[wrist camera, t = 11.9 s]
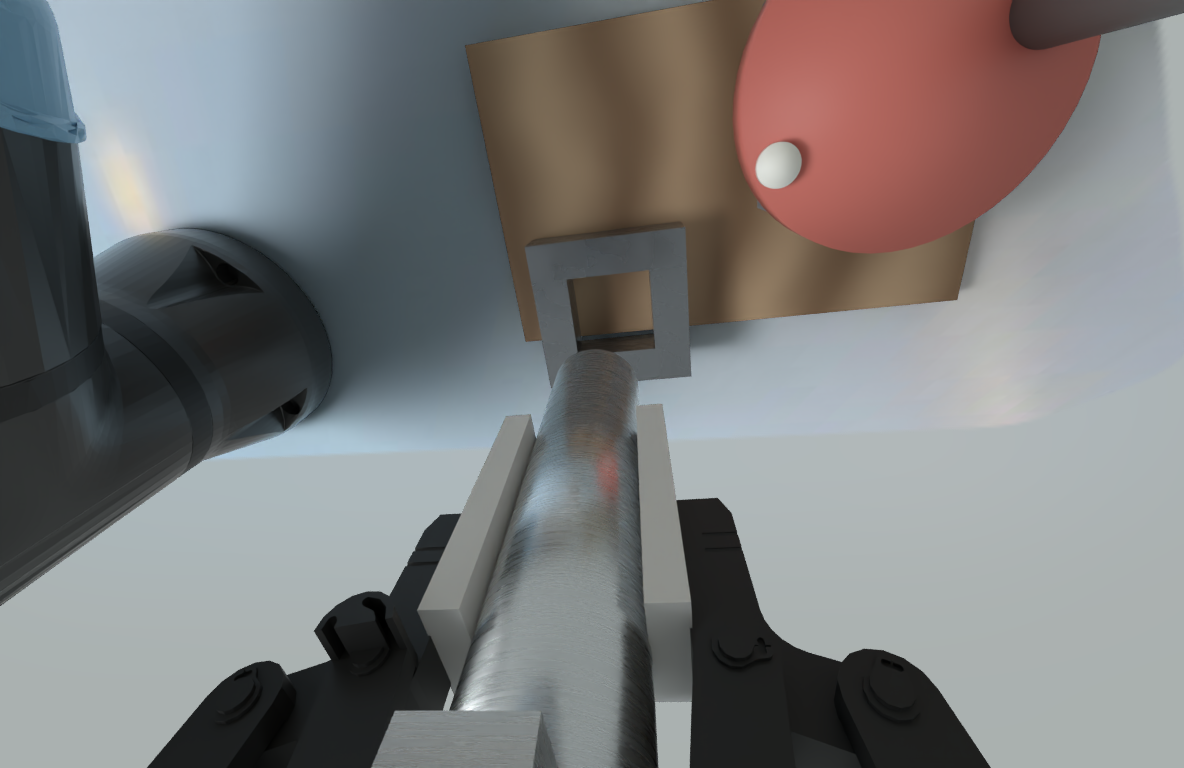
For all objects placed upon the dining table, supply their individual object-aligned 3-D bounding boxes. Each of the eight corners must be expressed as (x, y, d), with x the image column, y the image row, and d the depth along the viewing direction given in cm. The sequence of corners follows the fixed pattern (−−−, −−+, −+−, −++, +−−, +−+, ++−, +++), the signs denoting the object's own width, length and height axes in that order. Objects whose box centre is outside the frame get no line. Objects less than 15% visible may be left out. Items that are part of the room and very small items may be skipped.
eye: (556, 371, 31) (551, 388, 28) (533, 239, 27) (524, 246, 25) (686, 359, 30) (691, 376, 27) (680, 221, 26) (685, 227, 24)
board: (530, 333, 31) (515, 359, 27) (474, 51, 24) (443, 30, 20) (941, 293, 28) (993, 315, 24) (1011, -46, 21) (1101, -94, 17)
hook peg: (562, 426, 18) (401, 1093, 5) (540, 306, 16) (177, 933, 3) (641, 420, 18) (682, 1122, 5) (629, 297, 16) (648, 962, 3)
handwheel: (682, 34, 19) (748, -118, 9) (1025, -215, 16) (1877, -1017, 5) (794, 293, 24) (927, 402, 13) (1081, 148, 20) (1592, 136, 9)
